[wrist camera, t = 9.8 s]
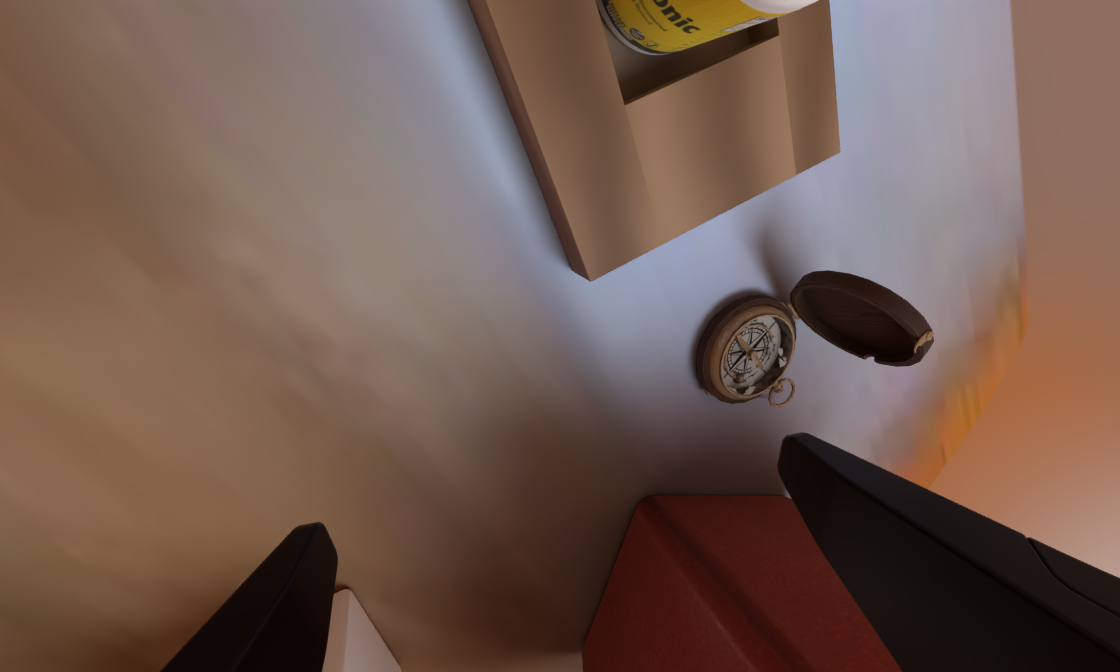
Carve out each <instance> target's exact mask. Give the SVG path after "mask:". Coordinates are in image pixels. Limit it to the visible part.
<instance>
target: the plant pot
mask: <svg viewBox="0 0 1120 672" xmlns="http://www.w3.org/2000/svg"><path fill="white" fill-rule="evenodd" d="M582 659H583V672H902V670H901V669H900V667H899V666H898V664H897V663H896V661H895V660H894V658H893V657H892V655H891V654H890V653H889V651H888V650H887V648H886V647H885V645H884V644H883V642H882V641H881V639H880V638H879V636H878V635H877V633H876V632H875V630H874V629H873V627H872V626H871V624H870V623H869V621H868V620H867V618H866V617H865V615H864V614H863V613H862V611H861V610H860V608H859V607H858V605H857V604H856V602H855V601H854V599H853V598H852V596H851V595H850V593H849V592H848V590H847V589H846V587H845V586H844V584H843V583H842V581H841V580H840V578H839V577H838V575H837V574H836V573H835V571H834V570H833V568H832V567H831V565H830V564H829V562H828V561H827V559H826V558H825V556H824V555H823V553H822V552H821V550H820V548H819V547H818V545H817V544H816V542H815V540H814V538H813V537H812V535H811V533H810V531H809V530H808V528H807V526H806V524H805V522H804V520H803V519H802V517H801V515H800V513H799V511H798V509H797V507H796V506H795V504H794V502H793V500H792V499H791V498H788V497H785V496H699V495H655V496H651V497H649V498H646V499H645V500H643V501H642V502H641V503H640V504H639V505H638V507H637V509H636V511H635V513H634V515H633V518H632V521H631V524H630V526H629V529H628V532H627V534H626V537H625V540H624V542H623V545H622V547H621V550H620V552H619V555H618V558H617V560H616V563H615V566H614V568H613V571H612V573H611V576H610V579H609V581H608V584H607V587H606V589H605V592H604V595H603V597H602V600H601V602H600V605H599V608H598V610H597V613H596V616H595V618H594V621H593V623H592V626H591V628H590V631H589V634H588V636H587V639H586V642H585V644H584V647H583V653H582Z"/></svg>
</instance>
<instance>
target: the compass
mask: <svg viewBox="0 0 1120 672" xmlns="http://www.w3.org/2000/svg"><path fill="white" fill-rule="evenodd" d="M790 299H791V302H789V301H788V302H787V303H786V305H787V306H785V305H784V304H783V303H782V302H780V301H779V302H778V301H776V300H773V299H771V298H768V297H765V296H749V297H746V298H743V299H740V300H737V301H735V302H734V303H732V304H731V305H729V306H728V307H726V308H724V309H723V310H722V311H721V312H720V313H719V314H718V315H717V316H716V317H715V319H714V320H713V321H712V322H711V323H710V325H709V327H708V328H707V330H706V332H705V333H704V335H703V337H702V340H701V343H700V346H699V349H698V353H697V365H696V367H697V372H698V377H699V380H700V382H701V383H702V385H703V387H704V388H705V393H706V394H708V395H710V393H711V394H712V395H713V396H715V397H716V398H717V399H719V400H720V401H723V402H727V403H731V404H734V403H743V402H747V401H749V400H752V399H754V398H757V397H758V396H760V395H761V394H763V393H764V392H766V391H767V390H768V389H770V388H771V390H770V392H769V399H768V400H769V402H770V404H771V405H772V406H774V407H781V406H783V405H785V404H786V403H787V402H789V400H790V399H791V398H792V396H793V394H794V391H795V385H794V383H793V381H792V380H791V379H786V378H784V379H781V380H779V379H780V378H781V377H782V375H783V374H784V372H785V371H786V370H787V368H788V365H789V363H790V361H791V359H792V355H793V352H794V347H795V341H796V327H795V321H794V318H793V316H792V315H794V317H795V319H799V318H801V319H802V321H803V322H804V323H805V324H806V325H808V326H809V327H810V328H811V329H812V330H813V331H814V332H815V333H817V334H818V335H820V336H821V337H822V338H824V339H825V340H827V341H828V342H830V343H832V344H833V345H835V346H837V347H839V348H840V349H842V350H844V351H846V352H848V353H851V354H853V355H855V356H858V357H860V358H862V359H866V358H868V357H875V359H874V361H875V362H877V363H878V364H883V365H890V366H896V367H897V366H911V365H913V364H916V363H918V362H920V361H921V360H922V358H923V357H924V356H925V354H926V353H927V352H928V350H929V349H930V347H931V346H932V344H933V342H934V338H933V332H932V329H931V327H930V326H929V324H928V323H927V321H926V320H925V318H924V317H923V316H922V315H921V313H919V312H918V311H917V310H916V309H915V308H914V307H913V306H912V305H911V304H910V303H909V302H908V301H906V300H905V299H903V298H902V297H900V296H899V295H897V294H896V293H894V292H893V291H891V290H890V289H888V288H886V287H883V286H881V285H879V284H877V283H875V282H873V281H871V280H868V279H865V278H862V277H859V276H855V275H852V274H849V273H842V272H835V271H815V272H811V273H809V274H807V275H805V276H803V277H802V279H801V280H800V281H799V282H798V284H797V285H796V286H795V287H794V289H793V290H792V292H791V293H790ZM778 380H779V381H778ZM783 381H789V382H790V383H791V385H792V391H791V394H790V396H789V397H788V399H787V400H786V401H785V402H783V403H781V404H779V405H778V404H773V402H772V400H771V395H772V392H773V390H774V391H775V392H776V393H779V392H781V391H782V390H783V386H782V385H781V382H783Z"/></svg>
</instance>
